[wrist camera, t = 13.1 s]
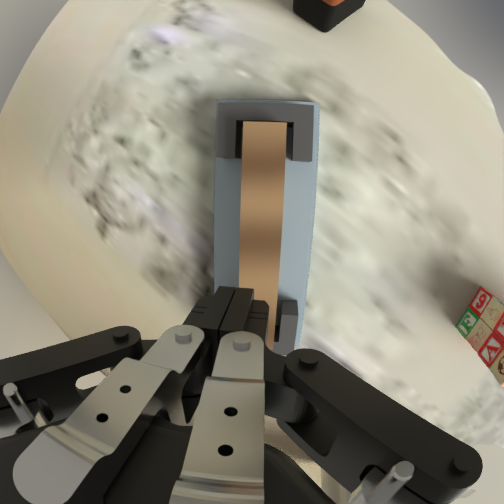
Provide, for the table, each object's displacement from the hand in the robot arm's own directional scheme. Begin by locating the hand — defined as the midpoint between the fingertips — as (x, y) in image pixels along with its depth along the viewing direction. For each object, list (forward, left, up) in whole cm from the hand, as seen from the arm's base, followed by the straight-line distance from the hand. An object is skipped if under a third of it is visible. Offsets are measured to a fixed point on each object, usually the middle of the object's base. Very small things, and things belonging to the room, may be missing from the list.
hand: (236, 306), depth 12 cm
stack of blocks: (-11, -36, -15) cm, 41 cm away
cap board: (0, 0, -15) cm, 15 cm away
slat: (0, 0, -14) cm, 14 cm away
